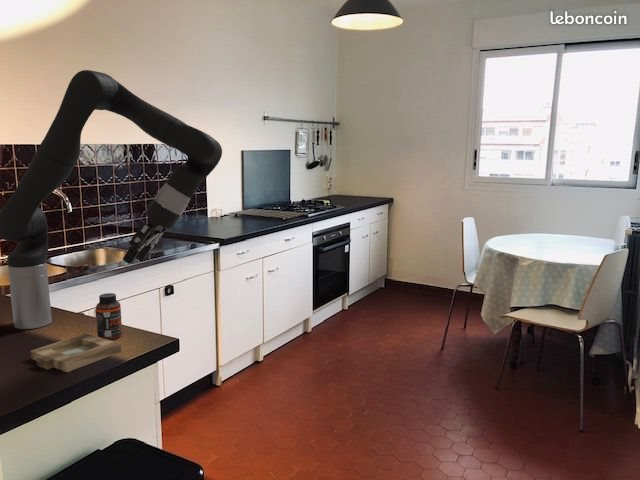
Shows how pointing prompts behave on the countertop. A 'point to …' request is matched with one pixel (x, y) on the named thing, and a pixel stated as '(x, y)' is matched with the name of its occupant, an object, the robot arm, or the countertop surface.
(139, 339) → the countertop surface
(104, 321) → the supplement bottle
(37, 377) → the countertop surface
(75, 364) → the holder
